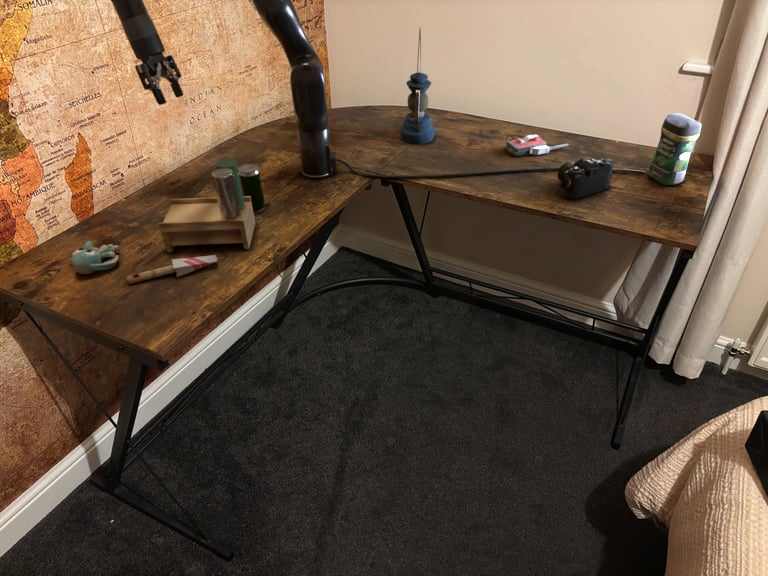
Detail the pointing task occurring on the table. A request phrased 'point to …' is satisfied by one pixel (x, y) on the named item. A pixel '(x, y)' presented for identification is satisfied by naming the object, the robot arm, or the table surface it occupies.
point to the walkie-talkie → (530, 146)
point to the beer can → (252, 186)
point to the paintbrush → (175, 268)
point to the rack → (212, 214)
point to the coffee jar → (674, 149)
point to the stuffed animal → (94, 258)
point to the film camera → (585, 176)
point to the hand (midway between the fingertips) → (171, 100)
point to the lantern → (418, 109)
